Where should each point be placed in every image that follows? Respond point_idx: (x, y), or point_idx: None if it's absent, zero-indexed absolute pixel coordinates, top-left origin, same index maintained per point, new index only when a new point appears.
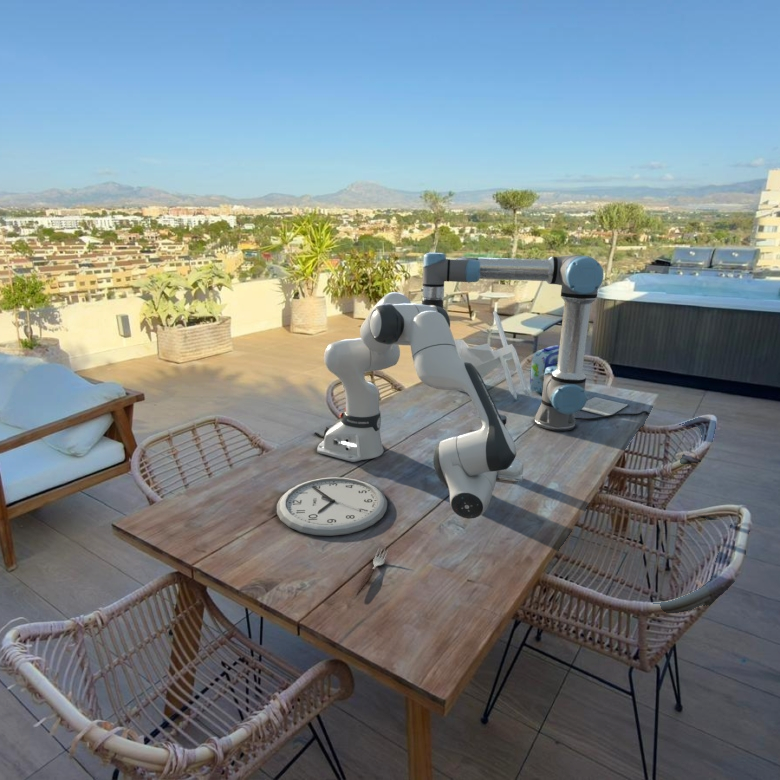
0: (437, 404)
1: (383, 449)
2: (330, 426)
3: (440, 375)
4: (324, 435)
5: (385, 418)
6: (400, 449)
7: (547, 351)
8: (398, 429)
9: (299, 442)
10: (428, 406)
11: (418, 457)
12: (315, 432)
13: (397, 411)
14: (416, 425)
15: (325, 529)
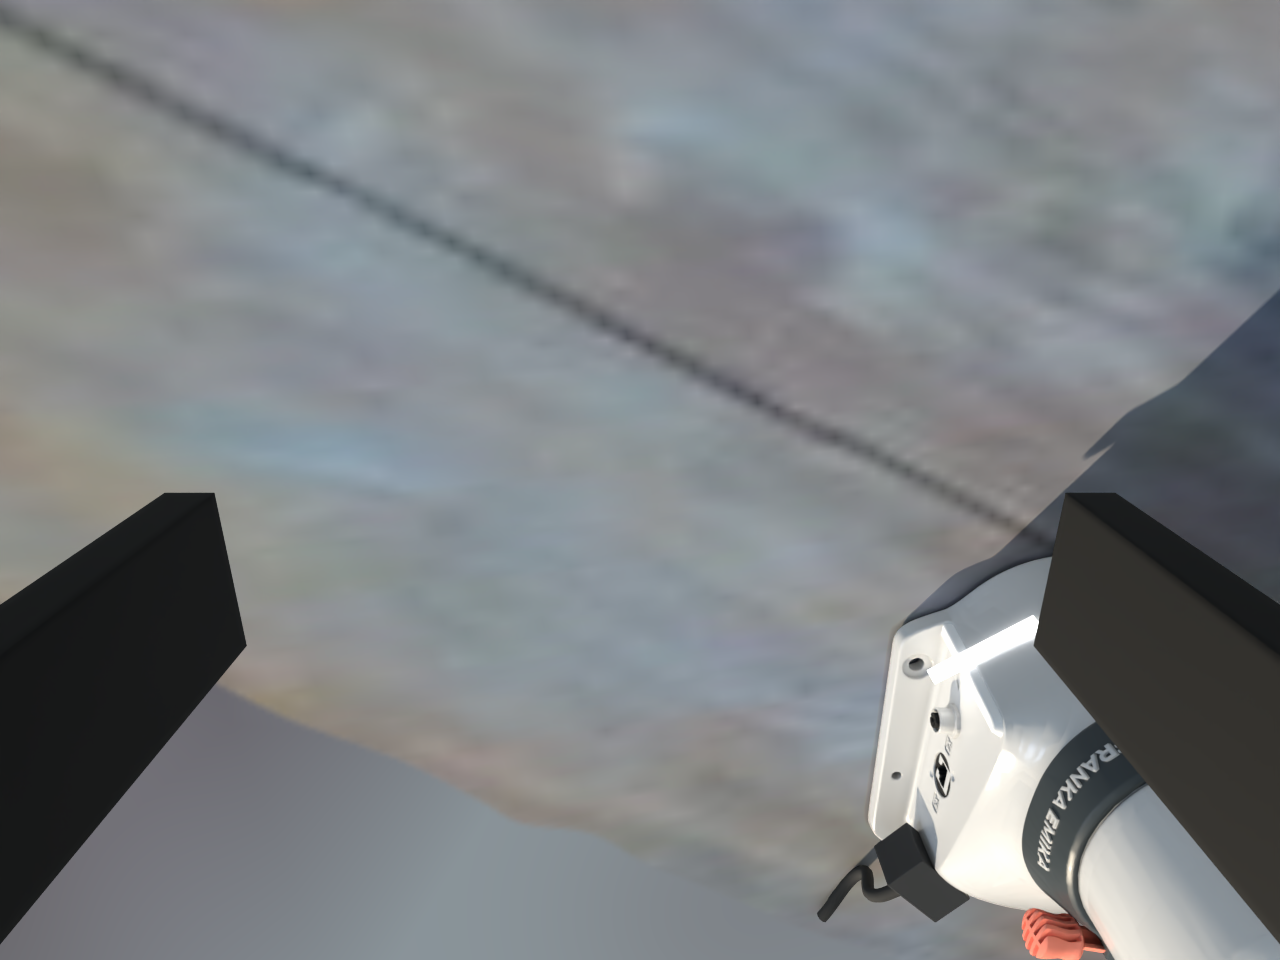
0: (10, 238)
1: (1051, 559)
2: (932, 904)
3: None
4: (872, 876)
5: (480, 607)
6: (1026, 458)
7: None
8: (675, 504)
9: (928, 947)
10: (99, 317)
11: (1162, 333)
12: (824, 919)
13: (310, 545)
14: (574, 387)
15: None
